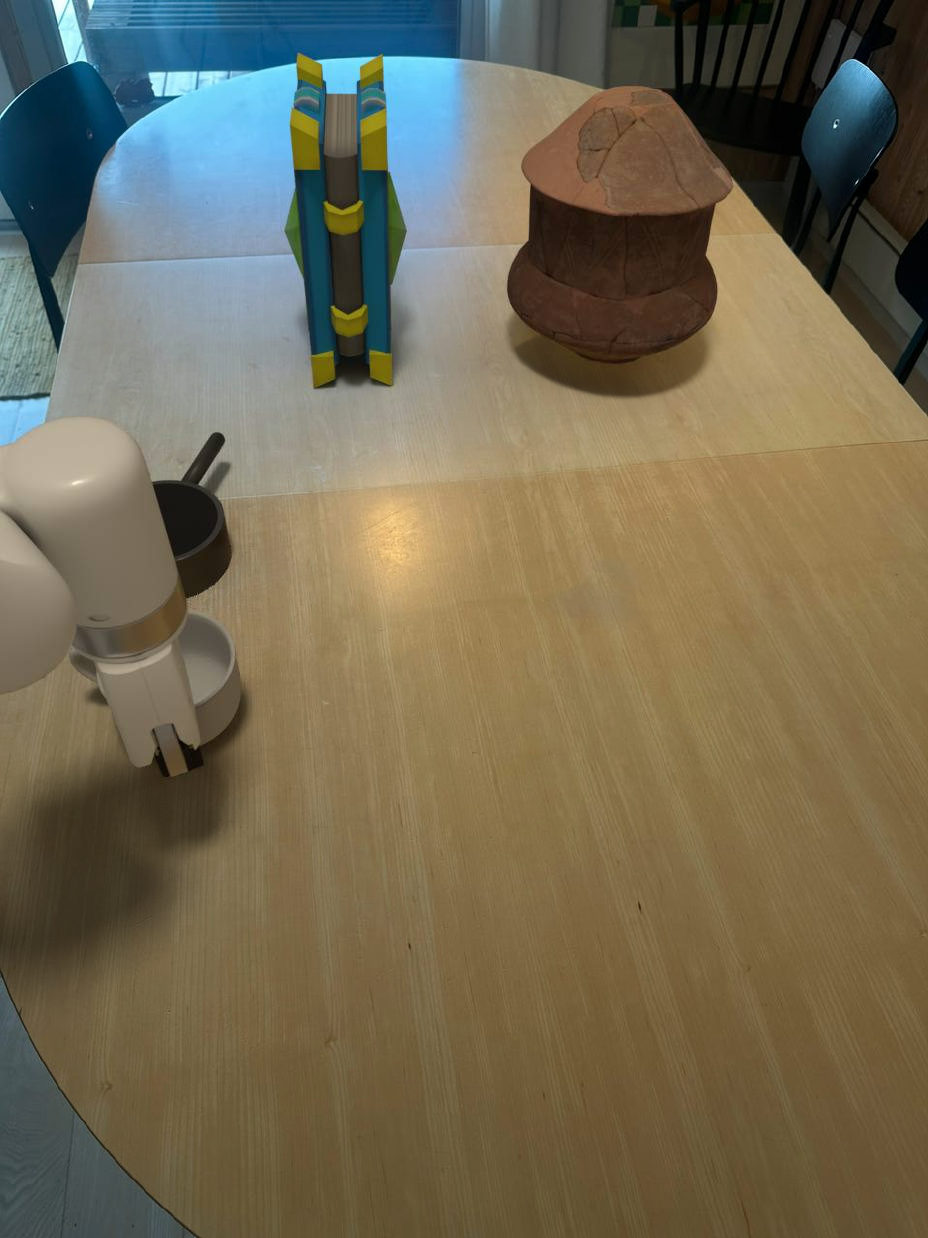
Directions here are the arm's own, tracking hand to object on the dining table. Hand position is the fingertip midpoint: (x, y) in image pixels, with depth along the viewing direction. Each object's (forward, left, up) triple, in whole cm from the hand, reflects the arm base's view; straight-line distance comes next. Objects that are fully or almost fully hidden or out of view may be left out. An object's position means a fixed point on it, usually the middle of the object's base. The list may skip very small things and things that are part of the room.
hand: (182, 763), depth 74 cm
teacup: (-5, +7, -4) cm, 10 cm away
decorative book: (-7, +67, -4) cm, 67 cm away
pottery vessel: (+24, +75, -4) cm, 79 cm away
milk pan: (-13, +29, -4) cm, 32 cm away
